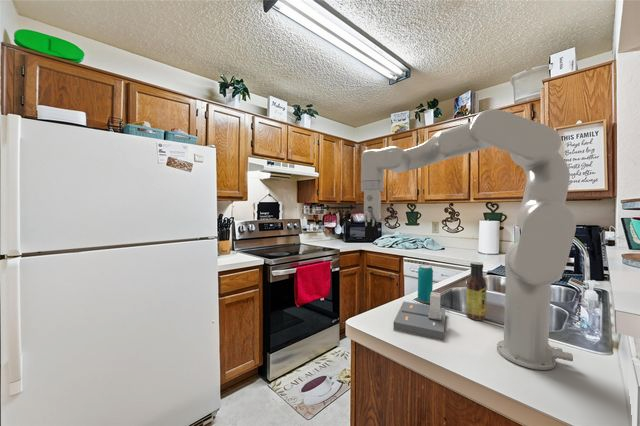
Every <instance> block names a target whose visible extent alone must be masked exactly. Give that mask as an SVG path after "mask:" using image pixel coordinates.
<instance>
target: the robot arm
mask: <svg viewBox="0 0 640 426" xmlns="http://www.w3.org/2000/svg"><path fill="white" fill-rule="evenodd" d="M561 145H562V138H561V136H560V134H559V132H558V131H557V130H556V129H555V128H553V127H551V126H549V125H546V124H544V123H541V122H538V121H536V120H532V119H529V118H526V117H523V116H521V115H518V114H514V113H512V112H510V111H509V112H508V111H506V110H501V109H495V108H490V109H486V110H484V111H481V112H480V113H478V114H477V115H476V116H475V117H474V118H473V120H472V121H469V122H466V123H464V124H460V125H457V126H454V127H450V128H447V129H444V130H441V131H437V132H436V133H434V134H433V135H432V136H431V137H430V138H428V140H426V141H425V142H423V143H421V144H419V145H417V146H414V147H410V148H407V149H402V147H399V146H395V145H393V146H388V147H384V148H380V149H367V150H364V151H363V152H362V153H361V162H360V163H361V164H360V166H361V170H360V171H361V173H360V174H361V175H360V177H361V178H360V181H361V182H360V184H361V185H360V189H361V190H360V191H361V192H363V193H364V195H363V219H364V220H365V223H364V225H365V226H364V238H365V239H367V240H368V239H370V240H371V239H375V238H376V236H378V235H379V221H380V220H381V219H382V195H381V193H382V192H384V182H385V181H384V180H385V179H384V176H385V175H384V170H387V171H391V172H393V173H397V174H398V173H399V174H400V173H406V172H409V171H413V170H417V169H420V168H424V167H427V166H430V165H432V164H436V163H437V164H438V163H439V162H443V161H445V160H448V159H452V158H456V157H460V156H464V155H467V154H470V153H475V152H478V151H482V150H486V149H489V148H491V147H495V148H497V149H499V150H502V151H504V152H507V153H508V154H509V155H510V159H511V161H513V163H515V165H516V166H517V165H518V167H520V168H522V169H523V171H524V173H525V176H526V183H525V186H524V187H525V188H524V193H523V198H522V201H521V203H520V208H519V210H518V214H517V216H516V217H517V218H516V222H517V225H518V228H519V230H520V235H519V239H518V241H516V242H513V243H512V244H511V245H510V246H509V247H508V248H507V250H506V252H505V254H504V255H505V256H504V271H505V292H504V293H505V295H504V320H503V321H504V322H503V325H504V326H503V340H500V341H498V342H497V343H496V351H498V353H499V354H500V356H502V357H503V358H505V359H507V360H508V361H509V362H512V363H514V364H516V365H519V366H522V367H525V368H529V369H532V370H540V371H549V370H552V369H554V368H555V367H556V364H557V363H556V360H557V359H559V360H560V359H561V360H563V361H568V362H573V361H574V356H573V354H572V353H571V352H566V351H563V348H561V347H556V346H555V347H554V346H552V345H550V343H549V338H550V337H549V336H550V335H549V333H550V315H551V314H550V309H551V308H550V307H551V285H552V284H554V283H556V282H557V281H558V280H560V279H561V277H562V275H563V274H564V272H565V269H566V266H567V264H568V260H569V257H570V253H571V249H572V246H573V242H574V239H575V236H576V235H575V234H576V231H577V230H576V229H577V220H576V216H575V214H574V212H573V211H572V210H571V209H570V208H569V207H568V206H566V201H567V197H568V190H569V185H570V181H571V180H570V177H571V174H570V169H569V166H568V164H567V162H566V161H565V159H564V158H563V156H562V155H561V154H560V153H559V150H560V149H561Z"/></svg>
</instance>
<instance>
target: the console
mask: <svg viewBox="0 0 640 426" xmlns="http://www.w3.org/2000/svg"><path fill="white" fill-rule="evenodd" d="M429 311H430V305H427V304H421V303H415V302H410V301H402V303H401V306H400V308H399V310H398V312H397V314H396V316H395V318H394V320H393V330H395V331H399V332H403V333H408V334H413V335H419V336H423V337H427V338H432V339H436V340H441V341H444V340H445V339H444V338H445V325H446V324H445V323H446V308H444V307H440V313H442V316H441V320H437V319H432V318H428V314H429Z"/></svg>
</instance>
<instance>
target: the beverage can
mask: <svg viewBox="0 0 640 426" xmlns="http://www.w3.org/2000/svg"><path fill="white" fill-rule="evenodd" d="M433 281H434V270H433V266H431V265H429V264H420V265H418V269H417V298H418V301H419V302H420V303H423V304H430V295H431V292H433V283H434V282H433Z"/></svg>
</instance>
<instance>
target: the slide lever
mask: <svg viewBox="0 0 640 426" xmlns="http://www.w3.org/2000/svg"><path fill="white" fill-rule="evenodd" d="M429 306H430V311H429V314H428V318H432V319H437V320H441V316H442V313H440V308H441V292H436V291H432V292H431V295H430V303H429Z"/></svg>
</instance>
